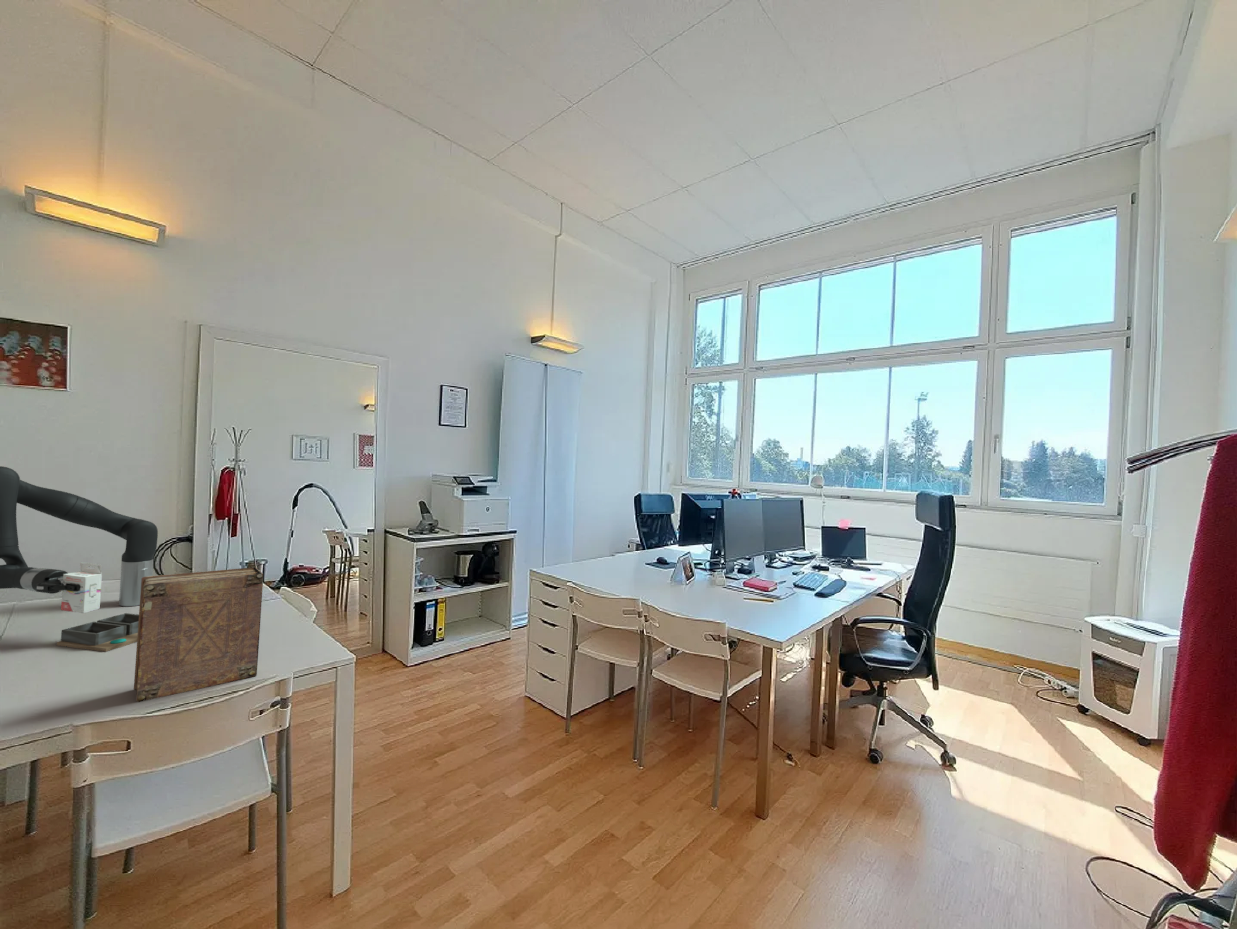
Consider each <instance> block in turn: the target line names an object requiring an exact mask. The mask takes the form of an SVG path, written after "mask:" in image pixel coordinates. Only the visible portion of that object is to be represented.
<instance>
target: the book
mask: <svg viewBox="0 0 1237 929" xmlns="http://www.w3.org/2000/svg"><path fill="white" fill-rule="evenodd" d="M263 588H264V573H263V572H262V571H261V570H260V569H258V568H257V567H256V566H253V567H245V568H244V567H243V568H232V569H221V570H209V571H208V570H207V571H197V572H196V571H195V572H184V573H175V574H162V575H153V576H148V577H143V578H142V580H141V594H140V605H139V610H138V611H139V612H138V615H139V622H138V636H137V642H136V651H135V652H136V654H135V668H134V681H133V690H135V691H136V703H140V702H145V701H150V700H154V699H158V698H159V699H160V698H164V697H167V696H172V695H177V694H182V693H186V692H191V691H196V690H199V689H203V688H204V689H205V688H209V687H213V686H217V685H223V684H227V683H231V682H236V681H240V680H245V679H249V678H254V677H257V675H258V661H259V647H260V646H259V645H260V632H261V630H260V629H261V618H262V617H261V615H262V605H263V604H262V603H263V602H262V601H263V600H262V599H263Z"/></svg>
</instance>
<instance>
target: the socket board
mask: <svg viewBox="0 0 1237 929" xmlns="http://www.w3.org/2000/svg"><path fill="white" fill-rule="evenodd" d="M138 622H139V613H138V614H137V613H129V612H128V613H127V612H125V613H121V614H117V615H113V616H110V617H106V618H102V619H99V620H97V621H92V622H88V623H87V622H86V623H83V624H80V625H75V626H72V627H69V628H65V629H61V633H60V641H56V646H59V647H66V646H67V647H69V648H75V649H81V650H89V651H97V652H106V653H107V652H110V651H112V650H113V651H114V650H117V649H119V648H122V647H125V646H128V645H132V644H134V643H137V636H138Z"/></svg>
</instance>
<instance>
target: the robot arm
mask: <svg viewBox="0 0 1237 929" xmlns="http://www.w3.org/2000/svg"><path fill="white" fill-rule="evenodd" d="M20 477H21V476H20V475H19V473H18V472H17V471H16V470H14V468H13V469H12V468H10V467H8V466H0V559H1V560H3V561H4V563H5V564H0V590H1V589H20V590H28V591H30V592H34V593H35V592H36V593H44V594H51V595H52V594H53V595H55V594H59V593H60V592H61V593H62V591H74V592H77V591H79V590H80V585H79V584H72V583H69V584H68V583H67V582H65V581H64V580H63V575H64V574H68V573H69V572H68V571H66V570H64V569H62V570H61V569H57V568H55V569H54V568H46V567H45V568H44V567H42V568H41V567H40V568H39V567H33V566H31V567H30V566H28V564H27V562H26V561H25V559H24V556H23V555H22V553H21V551H20V547H19V536H18V524H17V504H20V505H22V506H25V507H26V508H27V507H28V508H30V509H32V510H35V511H38V512H40V513H42V514H45V515H48V516H52V517H54V518H57V519H60V520H63V521H64V522H65V521H66V522H69V523H72V524H77V525H78V526H79V525H80V526H84V527H89V528H93V529H94V528H95V529H99V530H102V531H104V532H108V533H110V534H112V535H114V536H117V537H119V538H121V539H123V540H125V549H124V550H125V551H124V552H123V553H122V555H121V560H120V561H121V565H120V577H119V578H120V580H119V581H120V582H119V596H118V597H119V598H118V605H119V606H121V607H134V606H135V607H137V606H140V594H141V580H142V578H143V577H148V576H154V558H155V554H156V552H157V546H158V537H159V536H158V534H159V531H158V527H157V525H156V524H155V523H153V521H149V520H145V519H142V518H136V517H131V516H128V515H125V514H120V513H118V512H116V511H113V510H110V509H109V508H107V507H106V506H103V505H101V504H99V503H97V502H95V501H93V500H90V499H88V498H85V497H82V496H80V495H78V494H74V493H71V492H66V491H62V490H57V489H54V488H47V487H43V486H39V485H38V486H37V485H35V484H32V483H29V482H27V481H25V480H22V479H21V478H20Z"/></svg>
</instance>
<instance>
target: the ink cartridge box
mask: <svg viewBox="0 0 1237 929" xmlns="http://www.w3.org/2000/svg"><path fill="white" fill-rule="evenodd" d="M79 564H80V565H79V566H80V571H75V572H67V573H68V574H64V575H63V580H64V581H65V582H67V583H68V584H69V583H72V584H79V585H80V590H79V591H77V592H74V591H61V604H60V610H61V611H64V612H65V611H66V612H72V613H78V614H86V613H89V612H92V611H97V610H100V605H101V596H102V579H103V573H102V564H99V563H97V564H96V563H90V562H82V561H81V562H80V563H79ZM89 567H90V568H89ZM91 567H92V568H91Z"/></svg>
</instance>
